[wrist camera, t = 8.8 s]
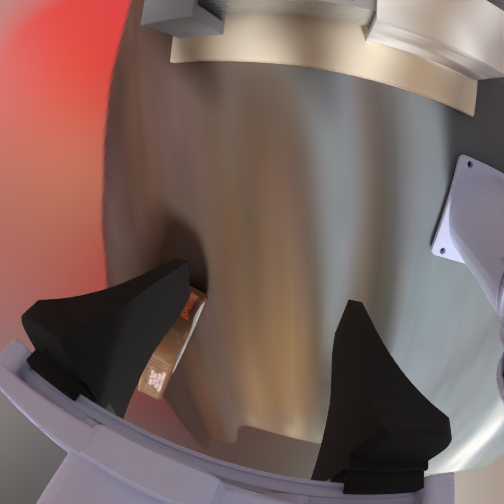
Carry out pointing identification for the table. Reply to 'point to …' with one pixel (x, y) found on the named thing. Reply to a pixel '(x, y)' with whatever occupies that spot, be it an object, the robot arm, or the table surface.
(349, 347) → the robot arm
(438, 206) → the table surface
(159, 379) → the tin
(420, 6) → the tube stand
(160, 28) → the socket
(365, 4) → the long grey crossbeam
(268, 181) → the table surface
